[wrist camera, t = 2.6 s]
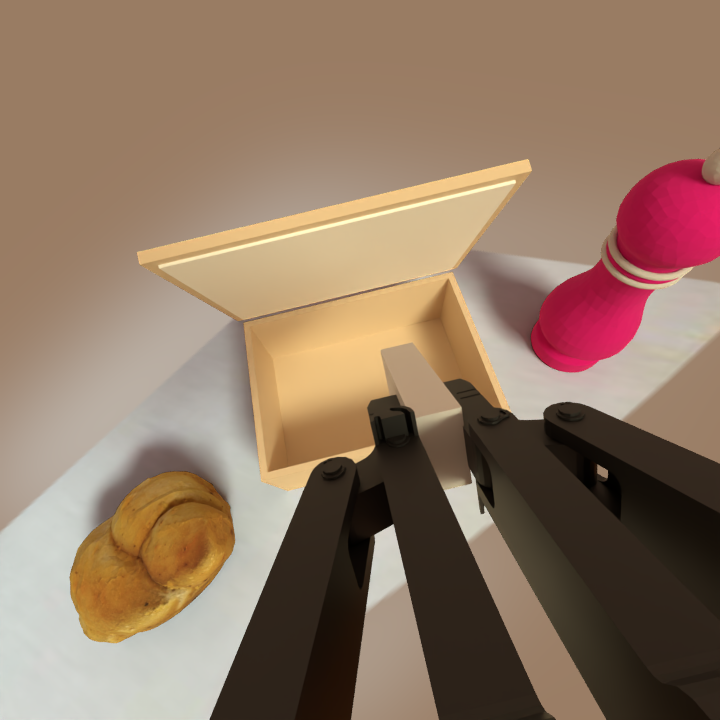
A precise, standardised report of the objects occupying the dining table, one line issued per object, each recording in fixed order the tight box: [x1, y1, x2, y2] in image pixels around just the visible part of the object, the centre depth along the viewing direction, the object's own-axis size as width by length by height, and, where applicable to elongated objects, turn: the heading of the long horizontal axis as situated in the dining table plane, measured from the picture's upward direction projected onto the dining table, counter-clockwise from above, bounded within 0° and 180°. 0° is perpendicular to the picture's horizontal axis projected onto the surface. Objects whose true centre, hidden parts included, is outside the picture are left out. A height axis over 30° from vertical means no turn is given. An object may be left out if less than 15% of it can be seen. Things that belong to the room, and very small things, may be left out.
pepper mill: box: [531, 148, 720, 372], centre depth 27 cm, size 7×7×20 cm
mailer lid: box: [137, 159, 532, 321], centre depth 24 cm, size 19×14×1 cm
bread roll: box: [70, 471, 235, 643], centre depth 27 cm, size 13×10×8 cm
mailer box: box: [243, 272, 511, 491], centre depth 32 cm, size 18×13×7 cm
